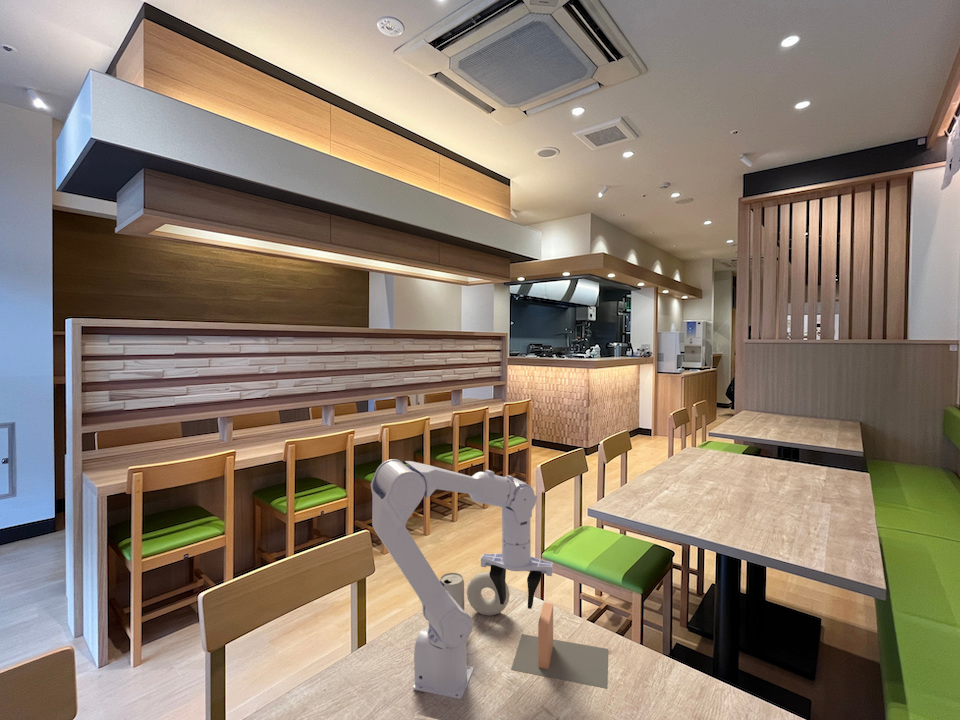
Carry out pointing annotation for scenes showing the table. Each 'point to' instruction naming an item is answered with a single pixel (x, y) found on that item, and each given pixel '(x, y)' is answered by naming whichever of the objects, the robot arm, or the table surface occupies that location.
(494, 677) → the table surface
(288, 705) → the table surface
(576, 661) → the mat
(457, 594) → the energy drink
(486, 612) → the donut
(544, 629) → the tile
